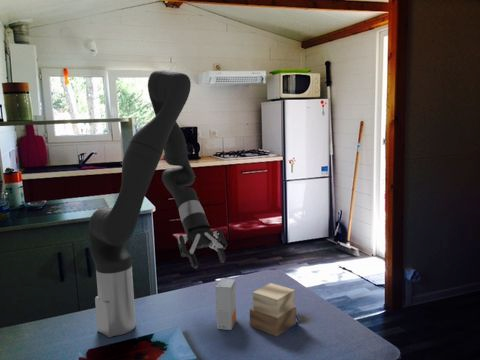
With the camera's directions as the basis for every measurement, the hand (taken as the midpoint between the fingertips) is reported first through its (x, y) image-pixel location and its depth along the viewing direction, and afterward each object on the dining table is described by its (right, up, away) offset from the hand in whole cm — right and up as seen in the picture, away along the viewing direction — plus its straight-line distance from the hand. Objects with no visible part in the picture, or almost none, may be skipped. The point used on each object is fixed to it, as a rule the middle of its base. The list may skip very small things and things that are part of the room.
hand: (210, 264), depth 120 cm
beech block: (+18, -10, -8) cm, 22 cm away
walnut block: (+18, -15, -7) cm, 24 cm away
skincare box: (+5, -15, -6) cm, 17 cm away
